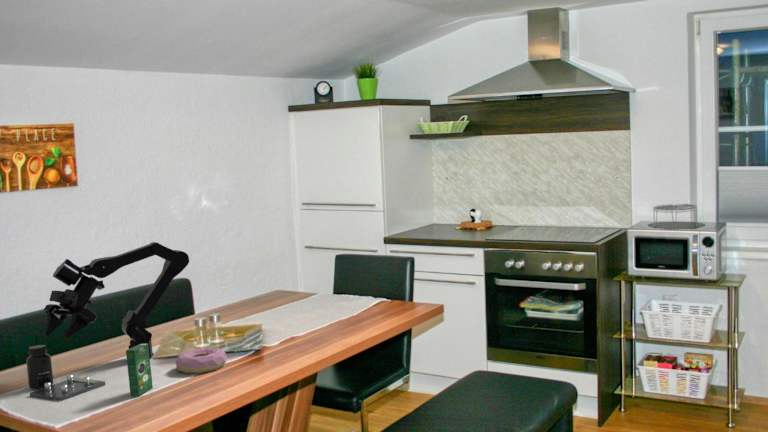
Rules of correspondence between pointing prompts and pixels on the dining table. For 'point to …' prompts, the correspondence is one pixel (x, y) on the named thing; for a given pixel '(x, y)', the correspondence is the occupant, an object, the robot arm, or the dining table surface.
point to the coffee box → (139, 369)
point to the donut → (201, 360)
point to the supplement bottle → (39, 367)
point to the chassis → (67, 388)
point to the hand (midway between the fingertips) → (55, 337)
